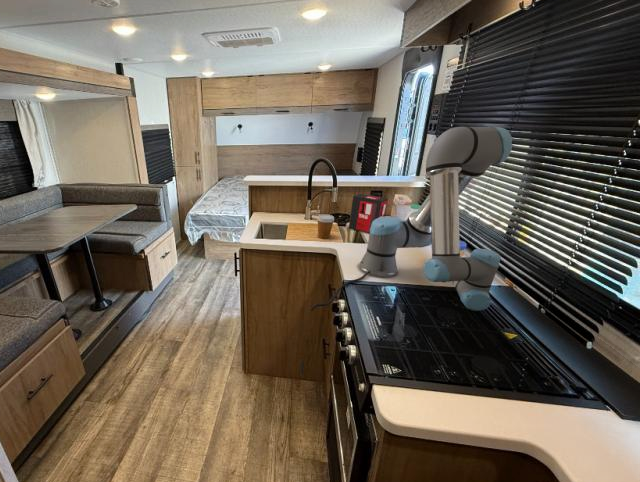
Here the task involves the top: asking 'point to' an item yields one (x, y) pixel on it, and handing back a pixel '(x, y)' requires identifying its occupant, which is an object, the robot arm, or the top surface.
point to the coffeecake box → (401, 206)
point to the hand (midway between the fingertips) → (452, 258)
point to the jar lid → (462, 245)
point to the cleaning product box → (366, 211)
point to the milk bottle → (413, 210)
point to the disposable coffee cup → (325, 225)
